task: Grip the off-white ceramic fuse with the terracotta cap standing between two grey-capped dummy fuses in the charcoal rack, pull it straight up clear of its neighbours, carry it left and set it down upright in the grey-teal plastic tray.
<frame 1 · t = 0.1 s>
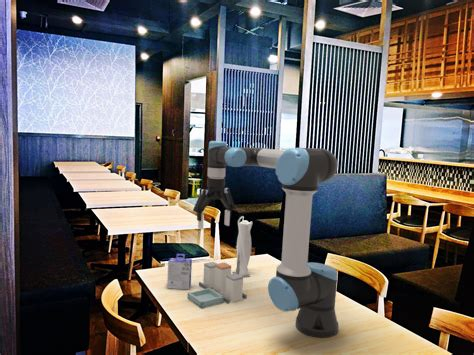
hand: (214, 226, 175), 28 cm above the table, tool pointing down, fingers open, 13 cm apart
ink cartridge box: (179, 287, 179), on the table
skyscraper: (241, 274, 198), on the table
tray: (205, 300, 166), on the table
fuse: (221, 291, 175), resting in rack
rack: (221, 291, 175), on the table
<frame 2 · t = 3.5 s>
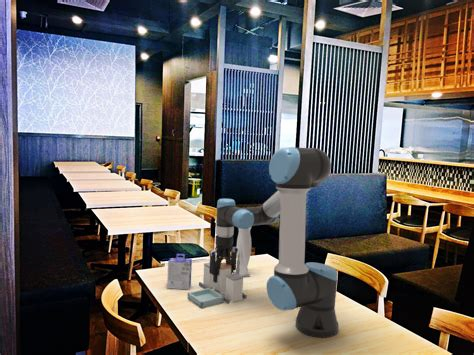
hand: (222, 287, 175), 2 cm above the table, tool pointing down, fingers closed on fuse, 5 cm apart
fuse: (221, 291, 175), resting in rack, touching gripper
everything else where it was.
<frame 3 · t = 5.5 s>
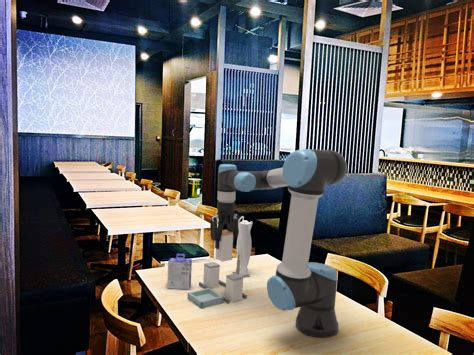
hand: (224, 254, 173), 16 cm above the table, tool pointing down, fingers closed on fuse, 5 cm apart
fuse: (223, 259, 173), point 15 cm above the table, touching gripper
everything else where it was.
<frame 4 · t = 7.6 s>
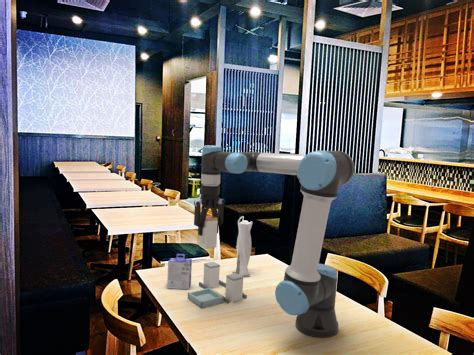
hand: (207, 242, 163), 24 cm above the table, tool pointing down, fingers closed on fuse, 5 cm apart
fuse: (207, 246, 163), point 23 cm above the table, touching gripper
everything else where it was.
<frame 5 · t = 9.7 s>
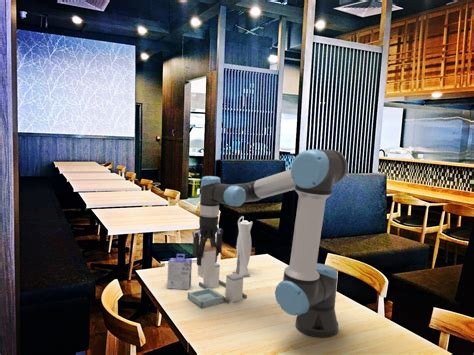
hand: (206, 271, 164), 12 cm above the table, tool pointing down, fingers closed on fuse, 5 cm apart
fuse: (206, 275, 165), point 10 cm above the table, touching gripper
everything else where it was.
when the fingers open (4 cm above the table, at t = 11.6 s): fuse drops 1 cm, resting on tray.
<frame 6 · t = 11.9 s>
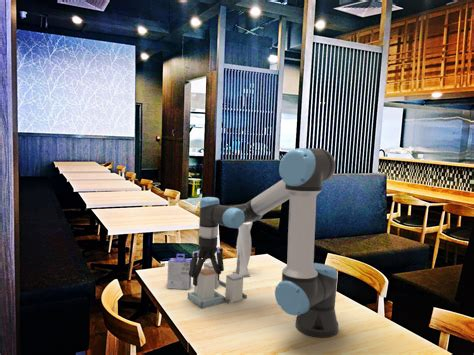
hand: (205, 290, 165), 4 cm above the table, tool pointing down, fingers open, 8 cm apart
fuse: (205, 299, 166), point 1 cm above the table, touching tray
everything else where it was.
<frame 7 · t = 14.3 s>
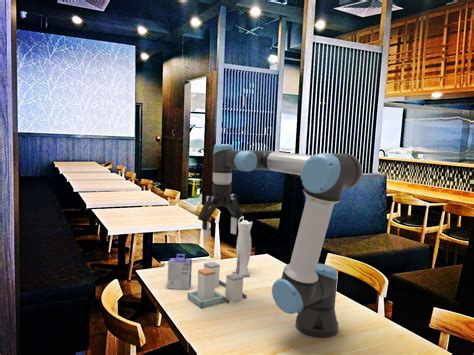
hand: (220, 235, 163), 27 cm above the table, tool pointing down, fingers open, 13 cm apart
nothing on the table moved.
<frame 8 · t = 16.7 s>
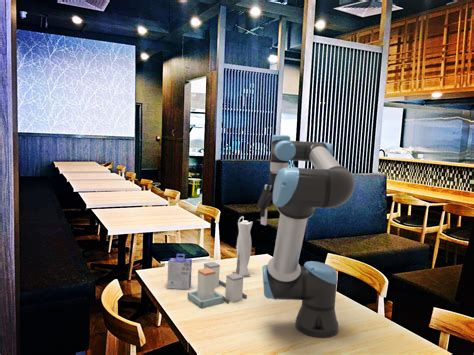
hand: (275, 223, 170), 32 cm above the table, tool pointing down, fingers open, 13 cm apart
nothing on the table moved.
at the end: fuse 0.0 cm off-centre on the tray, point 0.6 cm above the tray's base; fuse tilted 0°; the gripper is holding nothing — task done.
